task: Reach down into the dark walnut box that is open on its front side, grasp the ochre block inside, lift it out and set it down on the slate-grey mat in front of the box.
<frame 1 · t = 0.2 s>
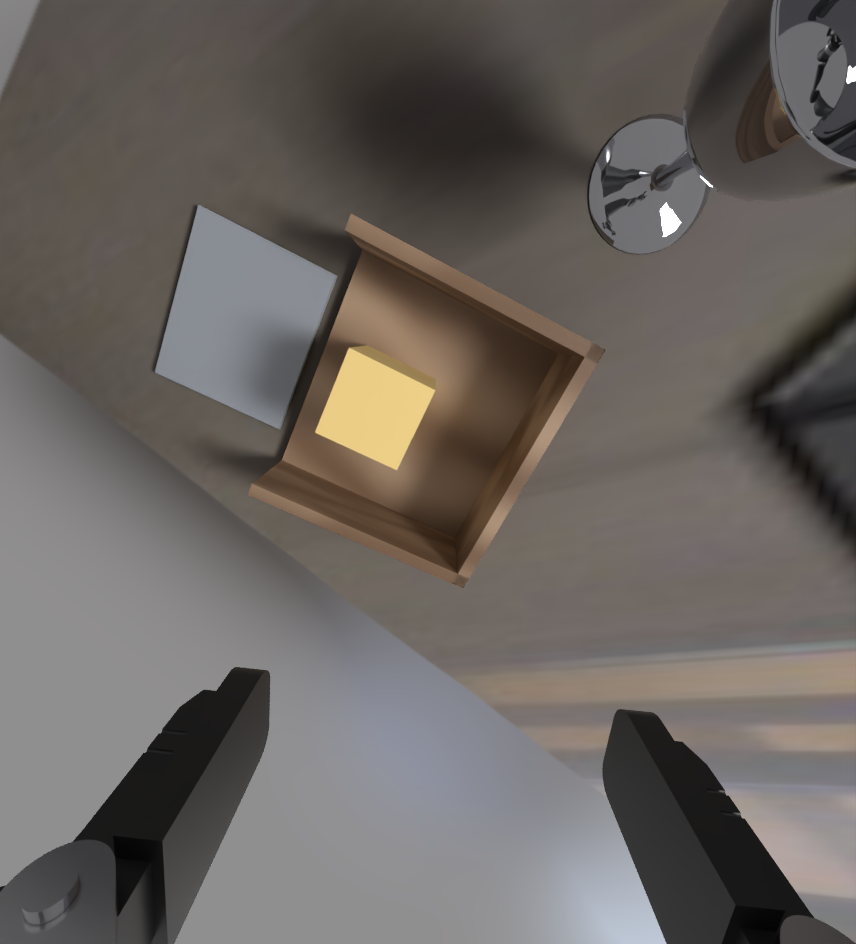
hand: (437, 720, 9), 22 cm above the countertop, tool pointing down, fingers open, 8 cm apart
box: (419, 410, 29), on the countertop
mat: (244, 325, 27), on the countertop
wine glass: (647, 188, 25), on the countertop
block: (387, 396, 28), point 1 cm above the countertop, touching box
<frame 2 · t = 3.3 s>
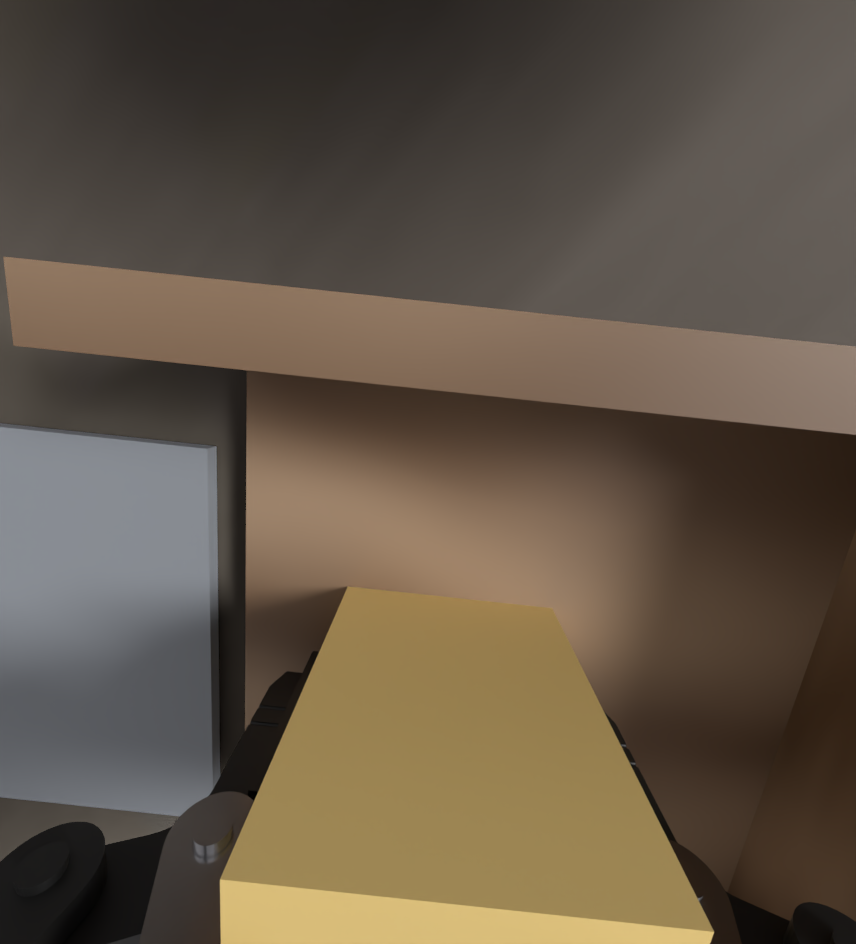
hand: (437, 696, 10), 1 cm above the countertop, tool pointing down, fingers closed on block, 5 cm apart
box: (526, 678, 11), on the countertop
mat: (53, 628, 11), on the countertop
block: (438, 685, 11), point 1 cm above the countertop, touching box, gripper
when the fingers open (2 cm above the countertop, at t = 9.8 s): block drops 1 cm, resting on mat.
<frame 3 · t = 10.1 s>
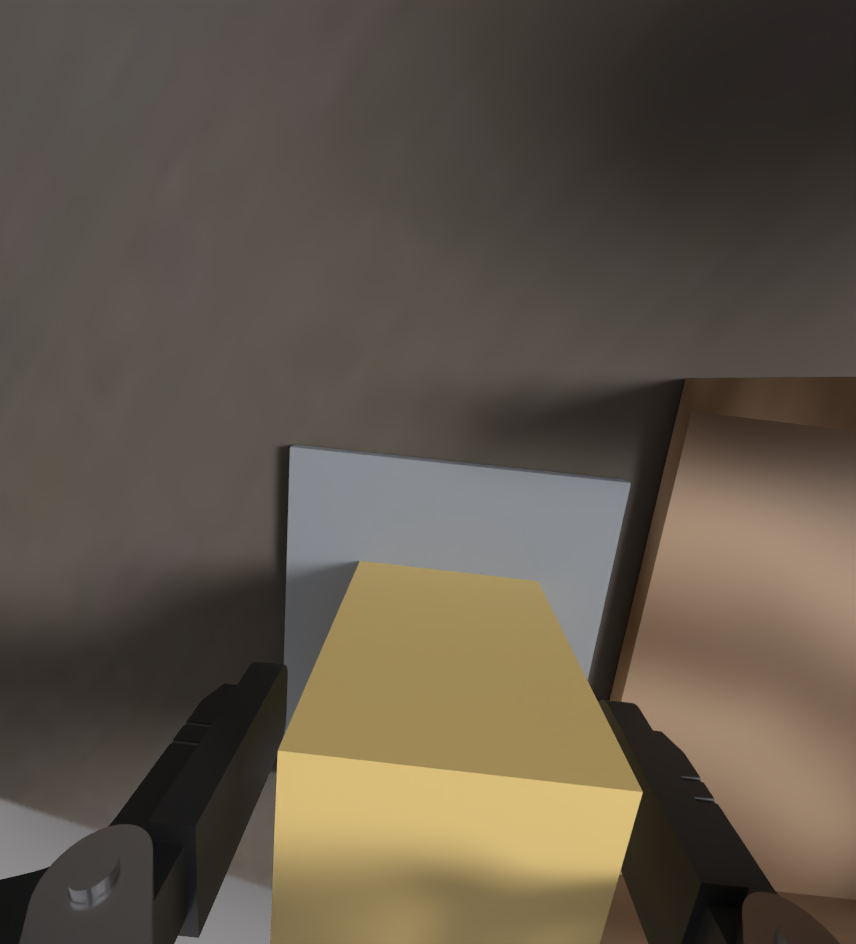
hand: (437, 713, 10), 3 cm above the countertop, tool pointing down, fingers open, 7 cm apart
mat: (437, 639, 12), on the countertop
block: (438, 649, 12), resting on mat
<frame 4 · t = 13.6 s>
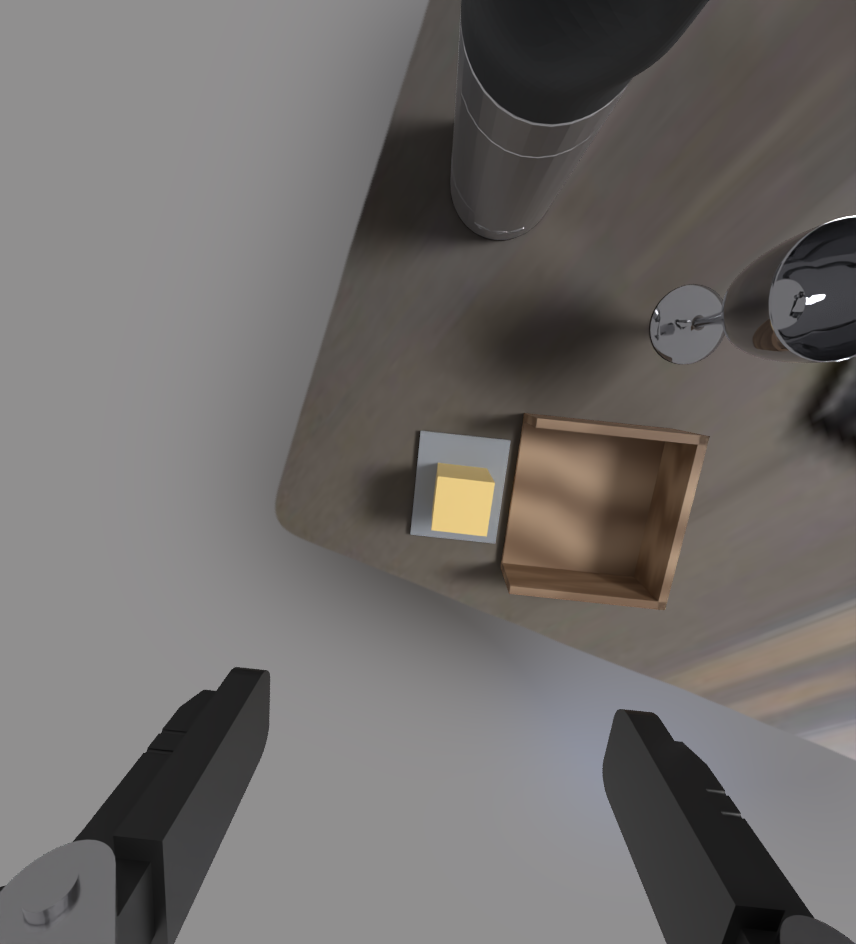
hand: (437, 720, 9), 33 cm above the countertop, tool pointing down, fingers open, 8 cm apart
box: (582, 501, 42), on the countertop
mat: (458, 487, 42), on the countertop
wine glass: (687, 325, 39), on the countertop
block: (459, 489, 42), resting on mat
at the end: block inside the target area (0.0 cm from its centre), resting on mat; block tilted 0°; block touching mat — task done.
